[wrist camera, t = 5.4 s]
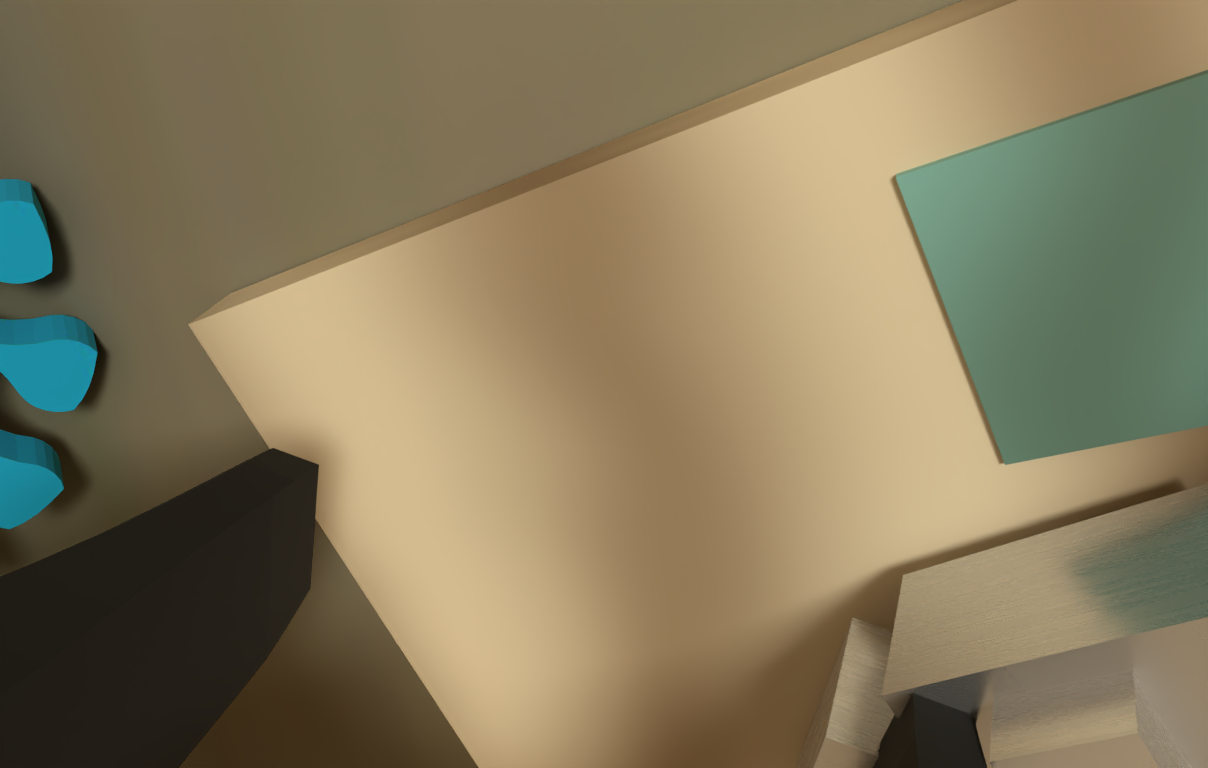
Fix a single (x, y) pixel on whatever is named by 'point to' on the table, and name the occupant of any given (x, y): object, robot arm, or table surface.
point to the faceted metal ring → (1044, 648)
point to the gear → (35, 358)
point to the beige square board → (754, 375)
